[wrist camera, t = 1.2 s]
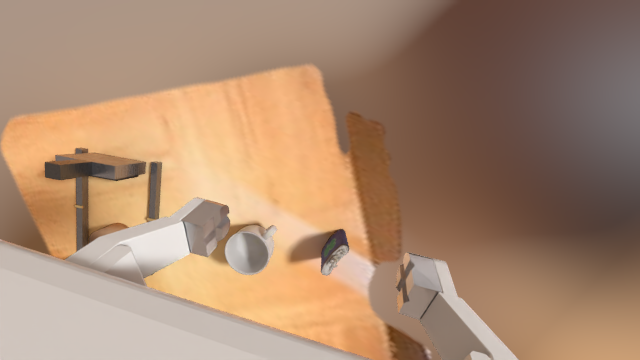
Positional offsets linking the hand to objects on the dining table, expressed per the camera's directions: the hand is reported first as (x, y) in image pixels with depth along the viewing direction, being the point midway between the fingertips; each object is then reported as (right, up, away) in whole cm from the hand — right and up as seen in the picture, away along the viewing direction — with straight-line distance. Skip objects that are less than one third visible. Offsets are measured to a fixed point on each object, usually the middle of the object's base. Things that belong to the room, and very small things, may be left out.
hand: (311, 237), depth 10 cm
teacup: (-15, -12, +51) cm, 55 cm away
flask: (+4, -14, +51) cm, 53 cm away
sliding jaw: (-50, +7, +48) cm, 70 cm away
